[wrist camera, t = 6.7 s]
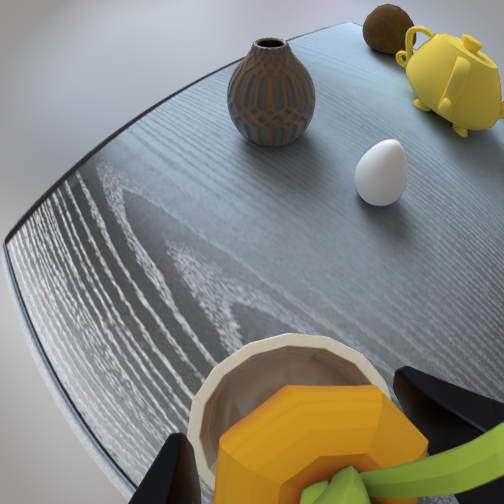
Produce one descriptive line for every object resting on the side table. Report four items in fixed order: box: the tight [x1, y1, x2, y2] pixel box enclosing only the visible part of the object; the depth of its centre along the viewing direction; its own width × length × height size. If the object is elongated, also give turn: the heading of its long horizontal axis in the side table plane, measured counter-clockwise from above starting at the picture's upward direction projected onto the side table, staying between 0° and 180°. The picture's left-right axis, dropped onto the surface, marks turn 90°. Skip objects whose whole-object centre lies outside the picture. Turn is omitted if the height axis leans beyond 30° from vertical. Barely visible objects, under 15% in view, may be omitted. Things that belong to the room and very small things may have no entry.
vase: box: [227, 38, 315, 147], centre depth 20 cm, size 7×7×9 cm
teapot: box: [396, 26, 504, 137], centre depth 21 cm, size 14×14×11 cm
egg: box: [354, 139, 408, 206], centre depth 18 cm, size 4×4×6 cm
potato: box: [363, 4, 416, 54], centre depth 29 cm, size 8×12×9 cm
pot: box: [187, 333, 391, 492], centre depth 12 cm, size 9×9×4 cm
